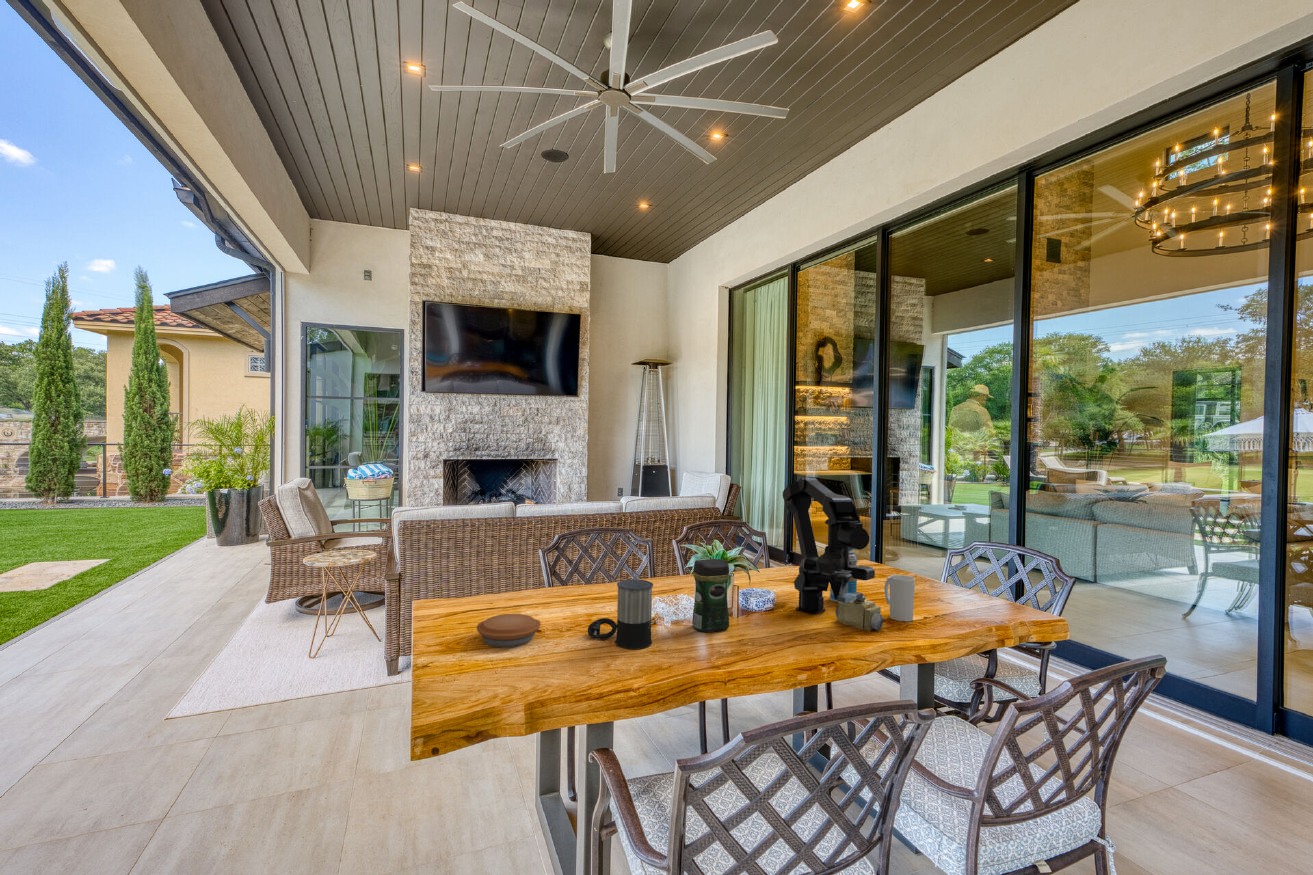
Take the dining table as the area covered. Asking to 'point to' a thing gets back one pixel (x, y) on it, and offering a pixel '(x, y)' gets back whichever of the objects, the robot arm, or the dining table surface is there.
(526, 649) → the dining table surface
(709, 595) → the coffee jar
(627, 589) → the milk frother
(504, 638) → the pie
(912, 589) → the mug
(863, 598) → the lever
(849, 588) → the beverage bottle
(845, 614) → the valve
